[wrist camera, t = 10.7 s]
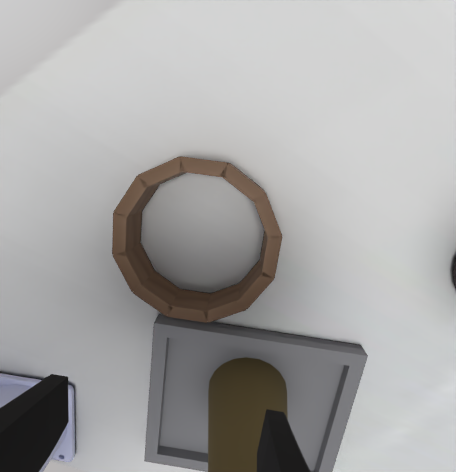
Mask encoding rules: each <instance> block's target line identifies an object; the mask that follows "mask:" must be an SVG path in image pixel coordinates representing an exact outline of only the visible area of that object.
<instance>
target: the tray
mask: <svg viewBox="0 0 456 472" xmlns="http://www.w3.org/2000/svg"><path fill="white" fill-rule="evenodd" d="M245 357H248V358H255V359H260V360H262V361H264V362H267V363H269V364H271V365H272V366H273V367H274V368H276V369H277V370H278V371H279V372H280V373H281V375H282V377H283V378H284V380H285V383H286V388H287V411H288V422H289V425H290V427H291V429H292V432H293V434H294V437H295V439H296V441H297V444H298V446H299V448H300V450H301V452H302V455H303V457H304V459H305V461H306V463H307V465H308V467H309V469H310V471H311V472H332V471H333V467H334V464H335V461H336V458H337V454H338V451H339V448H340V445H341V441H342V438H343V435H344V432H345V428H346V425H347V422H348V419H349V415H350V412H351V409H352V406H353V402H354V399H355V396H356V393H357V389H358V386H359V383H360V380H361V376H362V373H363V370H364V367H365V363H366V360H367V357H368V356H367V354H366V353H365V351H364V349H363V348H362V346H361V345H357V344H351V343H344V342H338V341H331V340H325V339H318V338H312V337H305V336H299V335H292V334H285V333H279V332H272V331H266V330H259V329H253V328H246V327H240V326H233V325H227V324H220V323H213V322H209V323H208V322H207V323H205V322H198V321H192V320H185V319H179V318H172V317H167V316H165V315H161V314H159V315H158V317H157V319H156V321H155V322H154V331H153V345H152V359H151V374H150V388H149V402H148V417H147V431H146V445H145V460H144V461H146V462H152V463H158V464H164V465H170V466H176V467H182V468H188V469H194V470H200V471H205V472H208V390H209V381H210V379H211V377H212V375H213V373H214V371H215V370H216V369H218V368H219V367H220V366H221V365H222V364H223V363H226V362H228V361H230V360H233V359H237V358H245Z"/></svg>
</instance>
